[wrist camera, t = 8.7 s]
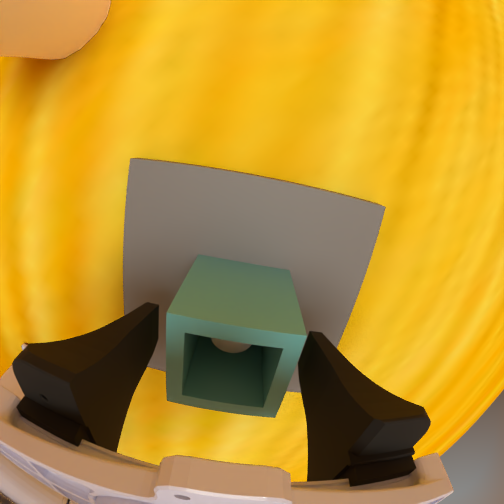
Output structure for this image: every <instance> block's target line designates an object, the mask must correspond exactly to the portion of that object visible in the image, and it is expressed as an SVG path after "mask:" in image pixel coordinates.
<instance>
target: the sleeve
mask: <svg viewBox="0 0 504 504" xmlns="http://www.w3.org/2000/svg"><path fill="white" fill-rule="evenodd" d="M306 337H307V334H306V330H305V326H304V322H303V318H302V315H301V311H300V307H299V303H298V300H297V296H296V292H295V289H294V285H293V281H292V278H291V274H290V270H285V269H279V268H273V267H268V266H262V265H256V264H250V263H245V262H239V261H233V260H228V259H222V258H216V257H211V256H205V255H200V254H198V256H197V258H196V260H195V261H194V263H193V265H192V267H191V269H190V270H189V272H188V274H187V276H186V278H185V279H184V281H183V283H182V285H181V287H180V288H179V290H178V292H177V294H176V296H175V298H174V299H173V301H172V303H171V305H170V307H169V309H168V311H167V314H166V391H167V401H171V402H175V403H179V404H184V405H189V406H194V407H199V408H204V409H210V410H216V411H222V412H228V413H236V414H243V415H252V416H262V417H273V418H275V417H276V414H277V412H278V410H279V407H280V405H281V402H282V400H283V398H284V395H285V393H286V390H287V388H288V385H289V383H290V380H291V378H292V375H293V373H294V370H295V367H296V365H297V362H298V359H299V357H300V354H301V351H302V348H303V346H304V343H305V340H306ZM211 338H216V339H222V340H228V341H234V342H240V343H246V344H252V345H251V346H250V347H249V348H248V349H246V350H245V351H243V352H239V353H228V352H224V351H222V350H220V349H219V348H217V347H216V346H215V345H214V344H213V342H212V340H211Z"/></svg>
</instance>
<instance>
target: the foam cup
mask: <svg viewBox="0 0 504 504" xmlns="http://www.w3.org/2000/svg"><path fill="white" fill-rule="evenodd" d="M110 4H111V1H110V0H0V56H10V57H27V58H38V59H51V60H54V59H62V58H66V57H68V56H69V55H71V54H73V53H74V52H76V51H78V50H80V49H81V48H82V47H83V46H84V45H85V44H86V43H87V42H88V41H89V40H90V39H91V38H92V37H93V36H94V35H95V34H96V33H97V32H98V30H99V28H100V27H101V25H102V24H103V22H104V21H105V19H106V18H107V15H108V11H109V7H110Z"/></svg>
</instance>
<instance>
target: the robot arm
mask: <svg viewBox="0 0 504 504" xmlns="http://www.w3.org/2000/svg"><path fill="white" fill-rule="evenodd" d="M158 339H159V305H158V304H154V303H150V302H146V303H144V304H143V305H141V306H139V307H138V308H136V309H135V310H133V311H131V312H130V313H128V314H126V315H125V316H123V317H121V318H120V319H118V320H116V321H114V322H112V323H110V324H108V325H106V326H104V327H102V328H100V329H98V330H95V331H92V332H90V333H87V334H84V335H81V336H77V337H74V338H70V339H66V340H61V341H55V342H48V343H34V344H28V345H27V344H23V345H22V350H23V351H22V352H21V353H20V354H19V355H18V356H17V357H16V358H15V359H14V361H13V363H12V365H11V366H10V368H9V369H8V370H7V371H6V372H5V373H4V374H3V376H2V377H1V378H0V493H1V494H0V504H436V503H438V502H439V501H441V500H442V499H444V498H445V497H447V496H448V495H449V494H451V493H452V492H453V491H454V490H453V487H452V485H451V483H450V480H449V478H448V476H447V473H446V471H445V468H444V466H443V464H442V462H441V459H440V457H439V455H438V453H433V454H430V455H426V456H422V457H420V458H417V459H415V460H413V458H412V455H413V454H414V453H415V451H414V448H413V446H414V445H415V444H416V443H417V442H418V441H419V440H420V439H421V438H422V437H423V435H424V434H425V433H426V432H427V430H428V429H429V426H430V422H431V421H430V419H429V417H428V415H427V413H426V411H425V409H424V407H422V406H419V405H416V404H414V403H411V402H408V401H406V400H404V399H402V398H400V397H397V396H395V395H394V394H392V393H390V392H388V391H386V390H385V389H383V388H382V387H380V386H378V385H377V384H375V383H374V382H373V381H371V380H370V379H369V378H367V377H366V376H365V375H363V374H362V373H361V372H360V371H359V370H358V369H357V368H355V367H354V366H353V365H352V364H351V363H350V362H349V361H348V360H347V359H346V358H345V357H344V356H343V355H342V354H341V353H340V352H339V351H338V349H337V348H336V347H335V346H334V345H333V344H332V343H331V342H330V341H329V339H328V338H327V337H326V336H325V335H324V334H323V333H322V332H316V331H309V334H308V336H307V339H306V342H305V345H304V347H303V350H302V353H301V355H300V358H299V361H298V376H299V384H300V389H301V394H302V399H303V404H304V409H305V414H306V421H307V435H308V475H307V482H291V480H290V473H288V472H286V471H284V470H282V469H281V468H278V467H271V466H263V465H249V464H239V463H230V462H222V461H215V460H209V459H203V458H197V457H191V456H181V455H175V456H169V457H165V458H163V460H162V461H161V463H160V466H158V465H154V464H151V463H147V462H144V461H140V460H137V459H134V458H131V457H128V456H125V455H122V454H119V453H116V452H117V448H118V443H119V439H120V435H121V431H122V428H123V424H124V421H125V417H126V414H127V411H128V408H129V405H130V402H131V399H132V396H133V394H134V391H135V389H136V387H137V385H138V383H139V381H140V379H141V377H142V375H143V373H144V371H145V369H146V367H147V365H148V363H149V361H150V359H151V357H152V355H153V353H154V350H155V347H156V344H157V341H158ZM4 496H5V497H4ZM8 499H9V500H8ZM12 502H13V503H12Z"/></svg>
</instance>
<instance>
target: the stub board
mask: <svg viewBox="0 0 504 504" xmlns="http://www.w3.org/2000/svg"><path fill="white" fill-rule="evenodd" d="M384 211H385V207H384V206H382V205H380V204H377V203H373V202H370V201H366V200H363V199H359V198H355V197H352V196H348V195H344V194H340V193H336V192H332V191H328V190H324V189H320V188H315V187H311V186H307V185H302V184H298V183H293V182H289V181H284V180H279V179H274V178H269V177H264V176H259V175H254V174H248V173H243V172H237V171H231V170H225V169H219V168H213V167H206V166H199V165H192V164H185V163H177V162H169V161H161V160H152V159H142V158H131V159H130V166H129V175H128V184H127V195H126V207H125V222H124V247H123V291H124V315H126V314H128V313H130V312H131V311H133V310H135V309H136V308H138V307H139V306H141V305H143V304H144V303H146V302H150V303H154V304H158V305H159V339H158V341H157V344H156V347H155V350H154V353H153V355H152V357H151V359H150V361H149V363H148V365H147V367H150V368H154V369H158V370H162V371H166V314H167V311H168V309H169V307H170V305H171V303H172V301H173V299H174V298H175V296H176V294H177V292H178V290H179V288H180V287H181V285H182V283H183V281H184V279H185V278H186V276H187V274H188V272H189V270H190V269H191V267H192V265H193V263H194V261H195V260H196V258H197V256H198V254H200V255H205V256H211V257H216V258H222V259H228V260H233V261H239V262H245V263H250V264H256V265H262V266H268V267H273V268H279V269H285V270H290V274H291V278H292V281H293V285H294V289H295V292H296V296H297V300H298V303H299V307H300V311H301V315H302V318H303V322H304V326H305V330H306V334H307V336H308V334H309V331H316V332H322V333H323V334H324V335H325V336H326V337H327V338H328V339H329V341H330V342H331V343H332V344H333V345H334V346H335V347H336V348H337V346H338V344H339V341H340V339H341V337H342V334H343V332H344V329H345V327H346V325H347V322H348V320H349V317H350V315H351V312H352V309H353V307H354V304H355V302H356V299H357V296H358V294H359V291H360V288H361V285H362V282H363V280H364V277H365V274H366V271H367V268H368V265H369V262H370V259H371V256H372V252H373V249H374V246H375V243H376V239H377V236H378V233H379V229H380V226H381V222H382V218H383V215H384ZM306 339H307V337H306ZM211 340H212V342H213V344H214V345H215V346H216V347H217V348H219V349H220V350H222V351H224V352H228V353H239V352H243V351H245V350H246V349H248V348H249V347H250V346H251V345H252V344H246V343H240V342H234V341H228V340H222V339H216V338H211ZM305 342H306V340H305ZM304 345H305V343H304ZM303 347H304V346H303ZM302 350H303V348H302ZM301 353H302V351H301ZM300 355H301V354H300ZM299 358H300V357H299ZM298 361H299V359H298ZM286 391H290V392H301V389H300V384H299V376H298V362H297V365H296V367H295V370H294V373H293V375H292V378H291V380H290V383H289V385H288V388H287V390H286Z"/></svg>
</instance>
